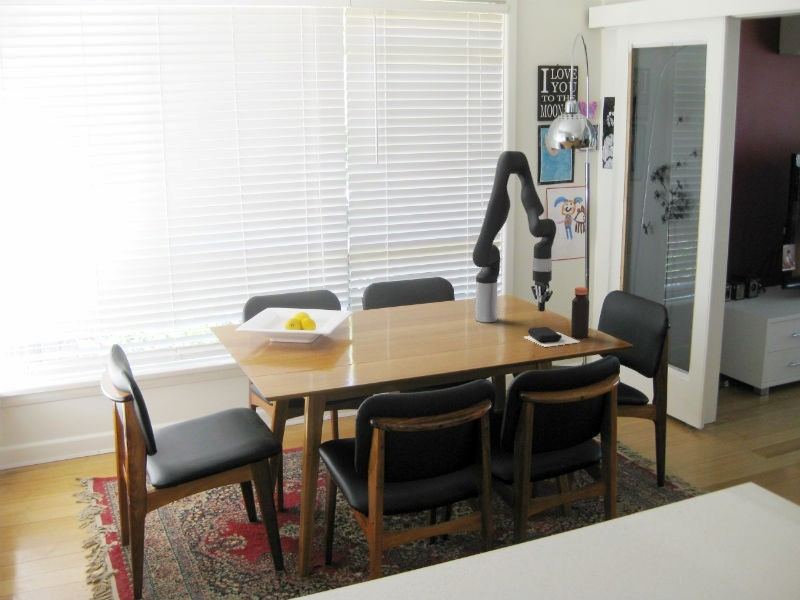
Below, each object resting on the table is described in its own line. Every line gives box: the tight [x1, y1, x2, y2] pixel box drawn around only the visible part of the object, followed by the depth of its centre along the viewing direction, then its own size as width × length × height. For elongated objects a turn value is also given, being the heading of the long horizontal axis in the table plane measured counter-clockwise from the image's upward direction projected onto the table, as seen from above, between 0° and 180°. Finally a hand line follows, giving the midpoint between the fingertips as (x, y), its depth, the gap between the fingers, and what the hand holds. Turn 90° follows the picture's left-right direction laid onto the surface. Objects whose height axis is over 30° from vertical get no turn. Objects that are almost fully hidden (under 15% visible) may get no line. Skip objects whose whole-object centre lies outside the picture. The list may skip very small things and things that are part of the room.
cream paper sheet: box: [523, 331, 581, 348], centre depth 336 cm, size 16×16×1 cm
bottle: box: [570, 286, 590, 340], centre depth 338 cm, size 7×7×20 cm
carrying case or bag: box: [527, 326, 562, 343], centre depth 337 cm, size 11×3×15 cm
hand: (541, 311), depth 341 cm, fingers closed
